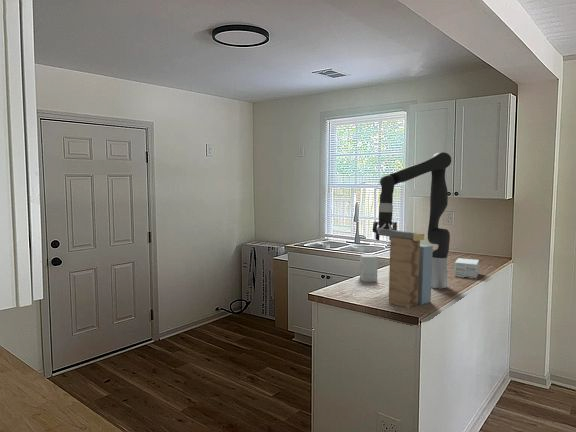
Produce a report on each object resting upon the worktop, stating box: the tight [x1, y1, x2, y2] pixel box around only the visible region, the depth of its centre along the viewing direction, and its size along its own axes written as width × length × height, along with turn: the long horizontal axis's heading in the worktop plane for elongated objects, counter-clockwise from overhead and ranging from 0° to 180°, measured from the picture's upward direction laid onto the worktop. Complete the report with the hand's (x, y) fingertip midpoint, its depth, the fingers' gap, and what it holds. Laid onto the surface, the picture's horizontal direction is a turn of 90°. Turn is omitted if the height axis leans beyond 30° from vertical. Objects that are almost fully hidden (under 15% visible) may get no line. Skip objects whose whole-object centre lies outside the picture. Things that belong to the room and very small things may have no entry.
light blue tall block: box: [418, 243, 434, 305], centre depth 215 cm, size 7×12×28 cm, turn 36°
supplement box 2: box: [453, 257, 480, 279], centre depth 277 cm, size 17×13×9 cm
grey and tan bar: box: [379, 229, 425, 241], centre depth 210 cm, size 6×24×3 cm, turn 36°
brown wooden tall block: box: [388, 237, 421, 309], centre depth 209 cm, size 7×12×32 cm, turn 36°
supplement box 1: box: [359, 254, 379, 283], centre depth 259 cm, size 9×9×15 cm
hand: (384, 240), depth 242 cm, fingers open, 8 cm apart
